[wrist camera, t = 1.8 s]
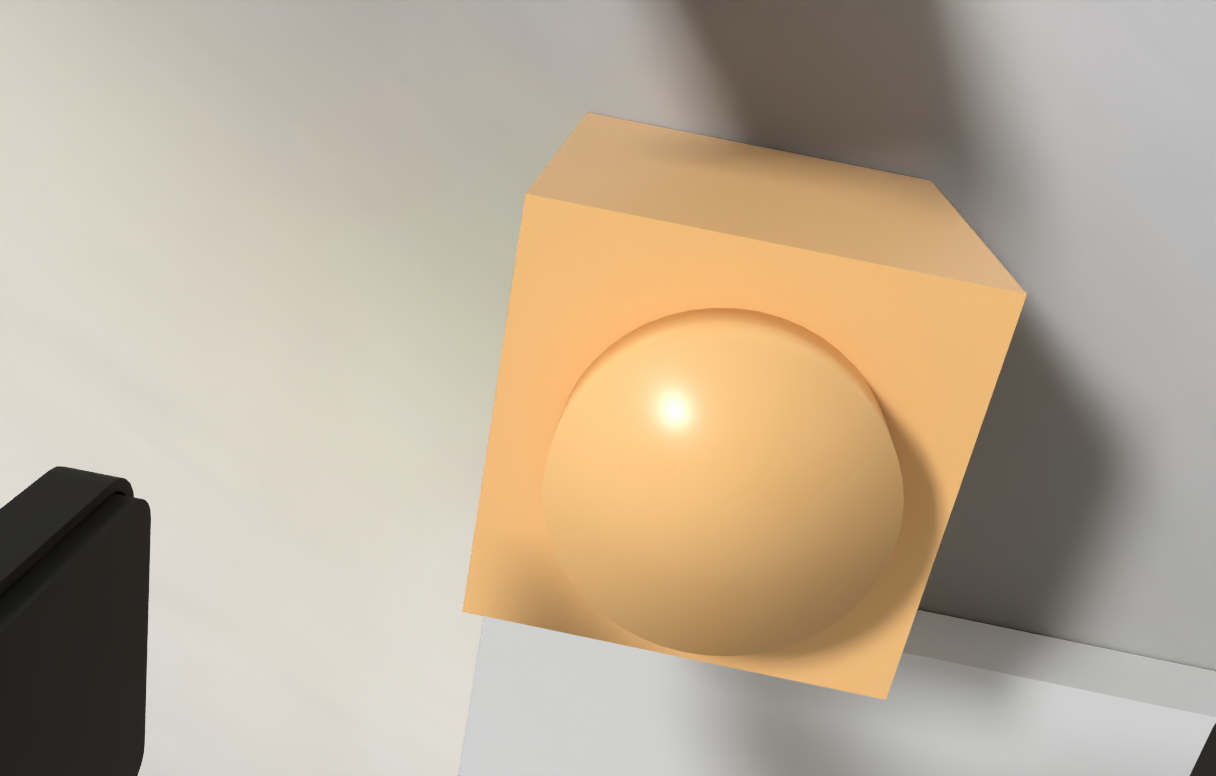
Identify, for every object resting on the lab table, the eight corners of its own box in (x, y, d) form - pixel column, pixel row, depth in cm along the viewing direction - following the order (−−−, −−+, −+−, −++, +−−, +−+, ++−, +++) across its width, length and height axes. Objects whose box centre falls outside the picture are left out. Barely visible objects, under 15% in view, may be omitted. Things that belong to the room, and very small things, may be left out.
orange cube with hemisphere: (930, 180, 18) (1052, 323, 11) (839, 485, 20) (897, 753, 13) (587, 112, 18) (509, 214, 11) (534, 422, 20) (444, 658, 13)
